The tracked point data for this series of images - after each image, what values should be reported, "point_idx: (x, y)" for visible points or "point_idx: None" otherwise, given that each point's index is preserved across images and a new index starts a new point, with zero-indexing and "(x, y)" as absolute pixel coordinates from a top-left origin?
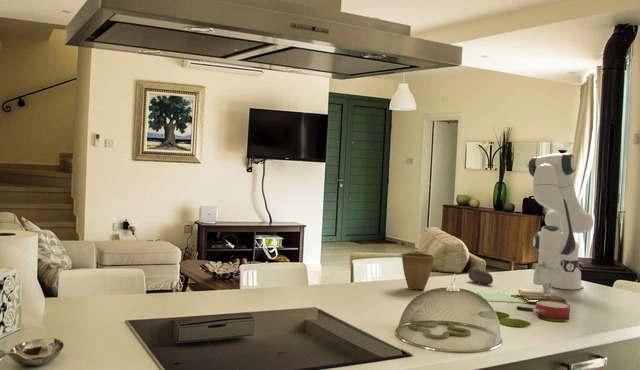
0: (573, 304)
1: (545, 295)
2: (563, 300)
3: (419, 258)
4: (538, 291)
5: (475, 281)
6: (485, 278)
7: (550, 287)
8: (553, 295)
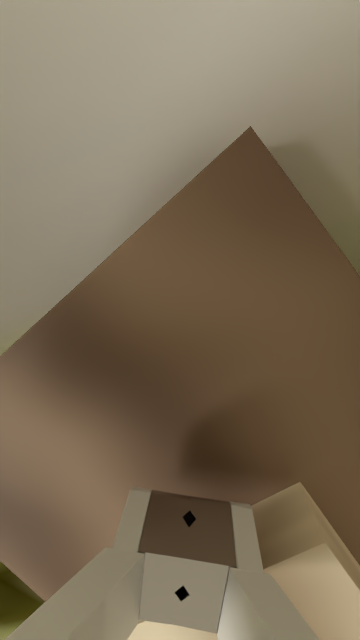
0: (137, 67)
1: None
2: (279, 176)
3: None
4: None
5: None
6: None
7: (109, 597)
8: (65, 424)
